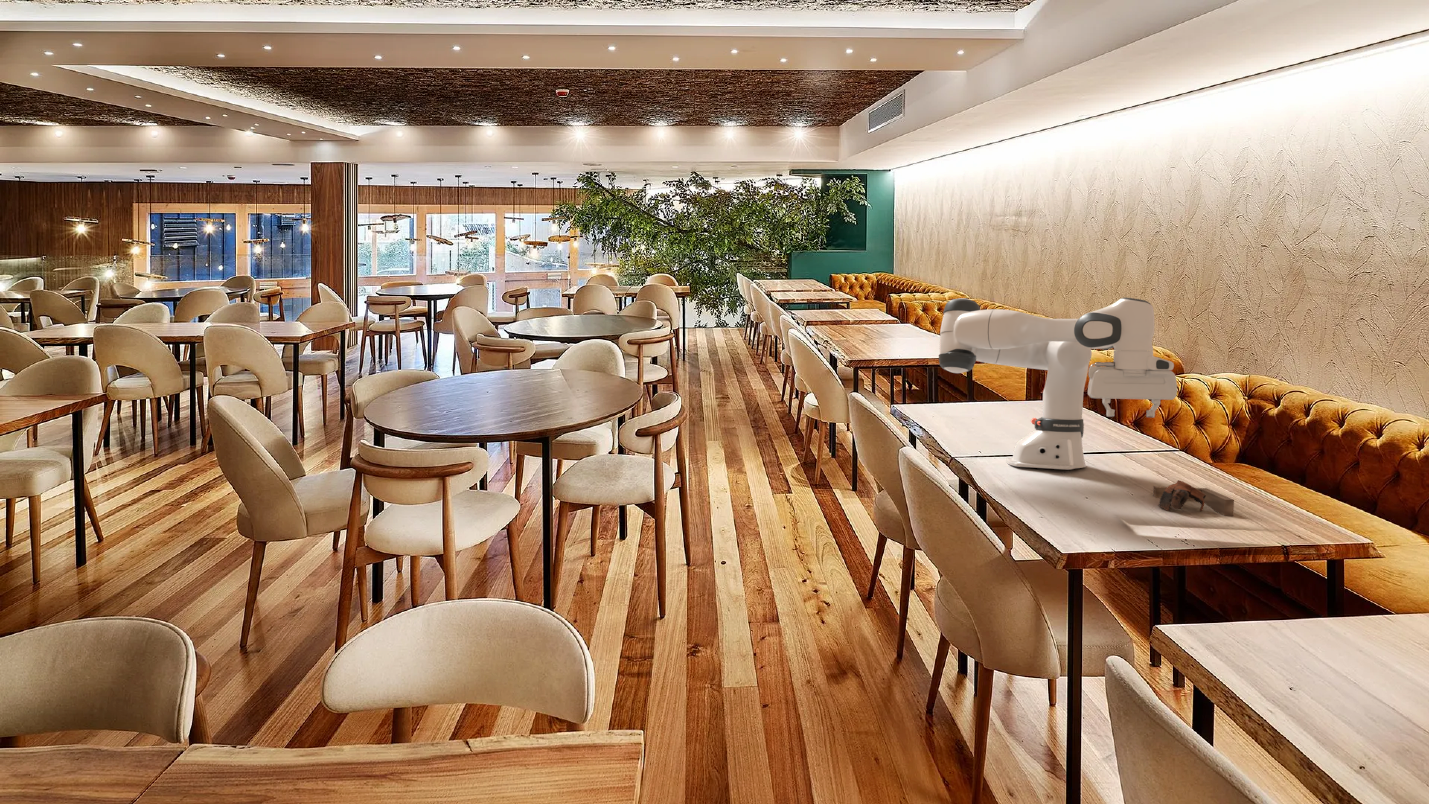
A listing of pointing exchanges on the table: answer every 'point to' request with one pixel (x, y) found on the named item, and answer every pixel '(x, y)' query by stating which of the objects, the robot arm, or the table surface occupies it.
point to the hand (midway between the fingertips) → (1130, 416)
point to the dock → (1207, 500)
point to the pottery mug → (1180, 496)
